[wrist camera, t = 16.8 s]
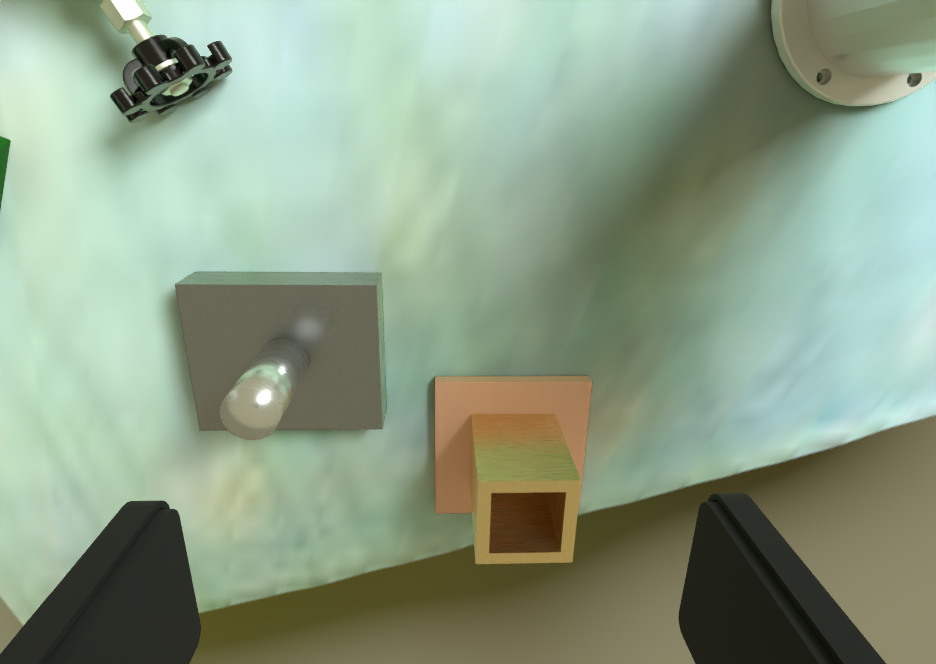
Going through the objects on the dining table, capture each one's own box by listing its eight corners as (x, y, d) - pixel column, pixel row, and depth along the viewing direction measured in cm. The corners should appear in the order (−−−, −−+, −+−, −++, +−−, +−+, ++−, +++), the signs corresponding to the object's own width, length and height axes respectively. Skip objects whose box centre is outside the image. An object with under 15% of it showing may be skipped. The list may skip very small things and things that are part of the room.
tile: (588, 375, 40) (592, 381, 40) (575, 503, 44) (578, 511, 43) (435, 376, 40) (435, 382, 39) (435, 505, 44) (435, 513, 43)
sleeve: (555, 413, 40) (581, 480, 33) (549, 484, 42) (572, 562, 35) (471, 413, 40) (477, 481, 33) (469, 485, 42) (475, 564, 35)
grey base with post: (381, 272, 37) (361, 324, 28) (386, 407, 41) (370, 493, 31) (195, 271, 37) (111, 323, 27) (216, 408, 40) (148, 496, 31)
